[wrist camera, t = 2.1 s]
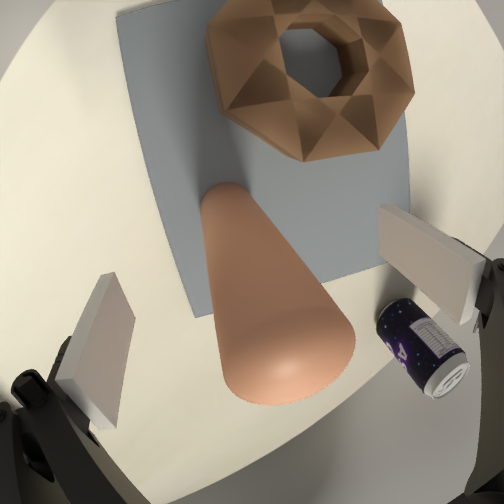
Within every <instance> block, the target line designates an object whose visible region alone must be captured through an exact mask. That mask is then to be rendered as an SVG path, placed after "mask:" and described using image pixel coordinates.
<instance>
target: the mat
mask: <svg viewBox="0 0 504 504" xmlns="http://www.w3.org/2000/svg"><path fill="white" fill-rule="evenodd" d="M227 1H228V0H175V1H171V2H166V3H162V4H158V5H154V6H151V7H147V8H143V9H140V10H137V11H133V12H130V13H127V14H124V15H121V16H118V17H116V24H117V31H118V37H119V44H120V50H121V55H122V61H123V66H124V72H125V77H126V82H127V87H128V92H129V97H130V101H131V106H132V110H133V115H134V119H135V124H136V128H137V132H138V136H139V140H140V144H141V148H142V152H143V156H144V160H145V164H146V167H147V171H148V175H149V178H150V182H151V186H152V189H153V193H154V196H155V200H156V203H157V206H158V210H159V213H160V216H161V220H162V223H163V226H164V229H165V233H166V236H167V239H168V242H169V245H170V248H171V251H172V254H173V257H174V260H175V263H176V266H177V269H178V272H179V275H180V278H181V281H182V283H183V286H184V289H185V292H186V295H187V297H188V300H189V303H190V306H191V308H192V311H193V314H194V316H195V318H197V317H201V316H205V315H209V314H213V307H212V300H211V293H210V286H209V279H208V271H207V264H206V256H205V248H204V239H203V231H202V222H201V213H200V205H201V201H202V198H203V196H204V195H205V193H206V192H207V191H208V190H209V189H210V188H211V187H213V186H214V185H217V184H219V183H224V182H231V183H236V184H238V185H240V186H242V187H243V188H244V189H246V190H247V192H248V193H249V194H250V195H251V197H252V198H253V199H254V200H255V201H256V203H257V204H258V205H259V206H260V208H261V209H262V210H263V211H264V212H265V214H266V215H267V216H268V217H269V219H270V220H271V221H272V222H273V224H274V225H275V226H276V227H277V229H278V230H279V231H280V232H281V234H282V235H283V236H284V237H285V239H286V240H287V241H288V242H289V244H290V245H291V246H292V248H293V249H294V250H295V251H296V253H297V254H298V255H299V256H300V258H301V259H302V260H303V262H304V263H305V264H306V265H307V267H308V268H309V269H310V271H311V272H312V273H313V274H314V276H315V277H316V278H317V280H318V281H319V282H320V284H322V283H325V282H328V281H331V280H335V279H338V278H341V277H344V276H347V275H351V274H354V273H357V272H360V271H363V270H366V269H369V268H372V267H375V266H378V265H381V264H384V263H387V261H386V260H385V259H384V258H383V257H381V256H380V255H379V220H378V206H380V205H384V204H389V203H391V204H393V205H395V206H396V207H398V208H400V209H402V210H404V211H406V212H408V213H410V182H409V157H408V142H407V131H406V120H405V112H403V114H402V115H401V117H400V119H399V120H398V122H397V123H396V125H395V126H394V128H393V130H392V131H391V133H390V134H389V136H388V137H387V139H386V141H385V142H384V144H383V145H382V147H381V148H380V150H379V151H372V152H365V153H358V154H351V155H345V156H339V157H333V158H327V159H321V160H315V161H310V162H304V163H303V162H300V161H298V160H295V159H292V158H290V157H287V156H284V155H283V154H282V153H280V152H279V151H277V150H276V149H274V148H273V147H271V146H270V145H269V144H267V143H266V142H264V141H263V140H261V139H260V138H258V137H257V136H255V135H254V134H252V133H251V132H249V131H248V130H246V129H244V128H243V127H241V126H240V125H238V124H237V123H235V122H233V121H232V120H230V119H229V118H227V117H225V116H224V115H222V114H221V113H220V111H219V106H218V102H217V97H216V92H215V87H214V83H213V78H212V73H211V68H210V64H209V59H208V54H207V49H206V45H205V36H206V30H207V24H208V22H209V21H210V20H211V19H212V18H213V17H214V15H215V14H216V13H217V12H218V11H219V10H220V9H221V8H222V7H223V5H224V4H225V3H226V2H227ZM377 1H379V2H380V3H381V4H382V5H383V3H382V0H377ZM279 42H280V47H281V51H282V56H283V60H284V65H285V70H286V74H287V75H288V76H289V77H291V78H292V79H294V80H295V81H296V82H298V83H299V84H300V85H302V86H303V87H304V88H306V89H307V90H308V91H309V92H311V93H312V94H313V95H315V96H316V97H317V98H325V97H328V96H329V94H330V93H331V91H332V90H333V89H334V87H335V86H336V84H337V83H338V82H339V80H340V79H341V78H342V72H341V67H340V62H339V57H338V53H337V48H336V47H334V46H333V45H332V44H331V43H330V42H328V41H327V40H326V39H325V38H323V37H322V36H321V35H319V34H318V33H317V32H315V31H314V30H313V29H290V30H285V31H284V32H283V33H282V35H281V36H280V37H279Z"/></svg>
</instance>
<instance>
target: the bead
mask: <svg viewBox="0 0 504 504" xmlns="http://www.w3.org/2000/svg"><path fill="white" fill-rule="evenodd" d="M290 29H313V30H314V31H315V32H317V33H318V34H319V35H321V36H322V37H323V38H325V39H326V40H327V41H328V42H330V43H331V44H332V45H333V46H334V47H336V48H337V53H338V57H339V62H340V67H341V72H342V78H341V79H340V80H339V82H338V83H337V84H336V86H335V87H334V89H333V90H332V91H331V93H330V94H329V96H328V97H325V98H317V97H316V96H315V95H313V94H312V93H311V92H309V91H308V90H307V89H306V88H304V87H303V86H302V85H300V84H299V83H298V82H296V81H295V80H294V79H292V78H291V77H289V76H288V75H287V74H286V70H285V65H284V60H283V56H282V51H281V47H280V42H279V37H280V36H281V35H282V33H283V32H284V31H285V30H290ZM205 45H206V49H207V54H208V59H209V64H210V68H211V73H212V78H213V83H214V87H215V92H216V97H217V102H218V106H219V111H220V113H221V114H222V115H224V116H225V117H227V118H229V119H230V120H232V121H233V122H235V123H237V124H238V125H240V126H241V127H243V128H244V129H246V130H248V131H249V132H251V133H252V134H254V135H255V136H257V137H258V138H260V139H261V140H263V141H264V142H266V143H267V144H269V145H270V146H271V147H273V148H274V149H276V150H277V151H279V152H280V153H282V154H283V155H284V156H287V157H290V158H292V159H295V160H298V161H300V162H303V163H304V162H310V161H315V160H321V159H327V158H333V157H339V156H345V155H351V154H358V153H365V152H372V151H379V150H380V148H381V147H382V145H383V144H384V142H385V141H386V139H387V137H388V136H389V134H390V133H391V131H392V130H393V128H394V126H395V125H396V123H397V122H398V120H399V119H400V117H401V115H402V114H403V112H404V111H405V109H406V107H407V106H408V104H409V102H410V101H411V99H412V98H413V96H414V94H415V91H414V84H413V78H412V72H411V66H410V61H409V56H408V51H407V46H406V42H405V37H404V33H403V29H402V25H401V23H400V22H399V21H398V20H397V19H396V18H395V17H394V16H393V15H392V14H391V13H390V12H389V11H388V10H387V9H386V8H385V7H384V6H383V5H382V4H381V3H380V2H379V1H377V0H228V1H227V2H226V3H225V4H224V5H223V7H222V8H221V9H220V10H219V11H218V12H217V13H216V14H215V15H214V17H213V18H212V19H211V20H210V21H209V22H208V24H207V30H206V36H205Z"/></svg>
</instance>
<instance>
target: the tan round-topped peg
mask: <svg viewBox="0 0 504 504" xmlns="http://www.w3.org/2000/svg"><path fill="white" fill-rule="evenodd" d="M200 213H201V222H202V231H203V239H204V248H205V256H206V264H207V271H208V279H209V286H210V293H211V300H212V307H213V314H214V321H215V327H216V334H217V340H218V346H219V353H220V359H221V365H222V370H223V376H224V380H225V382H226V384H227V386H228V388H229V389H230V390H231V391H232V392H233V393H234V394H235V395H236V396H238V397H239V398H241V399H243V400H245V401H248V402H251V403H254V404H260V405H281V404H287V403H292V402H296V401H299V400H302V399H305V398H307V397H309V396H312V395H314V394H315V393H317V392H319V391H321V390H322V389H324V388H325V387H327V386H328V385H329V384H331V383H332V382H333V381H334V380H335V379H336V378H337V377H338V376H339V375H340V374H341V373H342V372H343V371H344V369H345V368H346V366H347V365H348V363H349V362H350V360H351V357H352V355H353V352H354V349H355V332H354V329H353V327H352V325H351V323H350V322H349V321H348V319H347V318H346V317H345V315H344V314H343V313H342V311H341V310H340V309H339V307H338V306H337V305H336V303H335V302H334V301H333V299H332V298H331V297H330V295H329V294H328V293H327V291H326V290H325V289H324V287H323V286H322V285H321V284H320V282H319V281H318V280H317V278H316V277H315V276H314V274H313V273H312V272H311V271H310V269H309V268H308V267H307V265H306V264H305V263H304V262H303V260H302V259H301V258H300V256H299V255H298V254H297V253H296V251H295V250H294V249H293V248H292V246H291V245H290V244H289V242H288V241H287V240H286V239H285V237H284V236H283V235H282V234H281V232H280V231H279V230H278V229H277V227H276V226H275V225H274V224H273V222H272V221H271V220H270V219H269V217H268V216H267V215H266V214H265V212H264V211H263V210H262V209H261V208H260V206H259V205H258V204H257V203H256V201H255V200H254V199H253V198H252V197H251V195H250V194H249V193H248V192H247V190H246V189H244V188H243V187H242V186H240V185H238V184H236V183H231V182H224V183H219V184H217V185H214V186H213V187H211V188H210V189H209V190H208V191H207V192H206V193H205V195H204V196H203V198H202V201H201V205H200Z"/></svg>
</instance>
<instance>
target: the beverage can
mask: <svg viewBox="0 0 504 504" xmlns="http://www.w3.org/2000/svg"><path fill="white" fill-rule="evenodd" d="M376 331H377V334H378V335H379V337H380V338H381V339H382V340H383V342H384V343H385V344H386V345H387V347H388V348H389V349H390V350H391V352H392V353H393V354H394V356H395V357H396V358H397V359H398V361H399V362H400V363H401V365H402V366H403V367H404V368H405V370H406V371H407V372H408V374H409V375H410V376H411V377H412V379H413V380H414V381H415V383H416V384H417V385H418V387H419V388H420V389H421V391H422V392H423V393H424V394H426V395H429V396H431V397H432V398H433V399H434V400H438V399H441V398H443V397H445V396H446V395H448V394H449V393H450V392H452V391H453V390H454V389H455V388H456V387H457V386H458V385H459V384H460V383H461V381H462V380H463V379H464V378H465V376H466V375H467V373H468V371H469V368H470V363H469V362H468V361H467V358H466V354H465V352H464V351H463V350H462V349H461V348H460V347H459V346H458V345H457V344H456V343H455V342H454V341H453V340H452V339H451V338H450V337H449V336H448V335H447V334H446V333H445V332H444V331H443V330H442V329H441V328H440V327H439V326H438V325H437V324H436V323H435V322H434V321H433V320H432V319H431V318H430V317H429V316H428V315H427V314H426V313H425V312H424V311H423V310H422V309H421V308H420V307H419V306H418V305H416V304H415V303H414V302H413V301H412V300H411V299H408V298H404V299H400V300H395V301H393V302H391V303H389V304H388V305H387V306H386V307H385V308H384V309H383V310H382V312H381V313H380V315H379V318H378V323H377V327H376Z"/></svg>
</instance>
